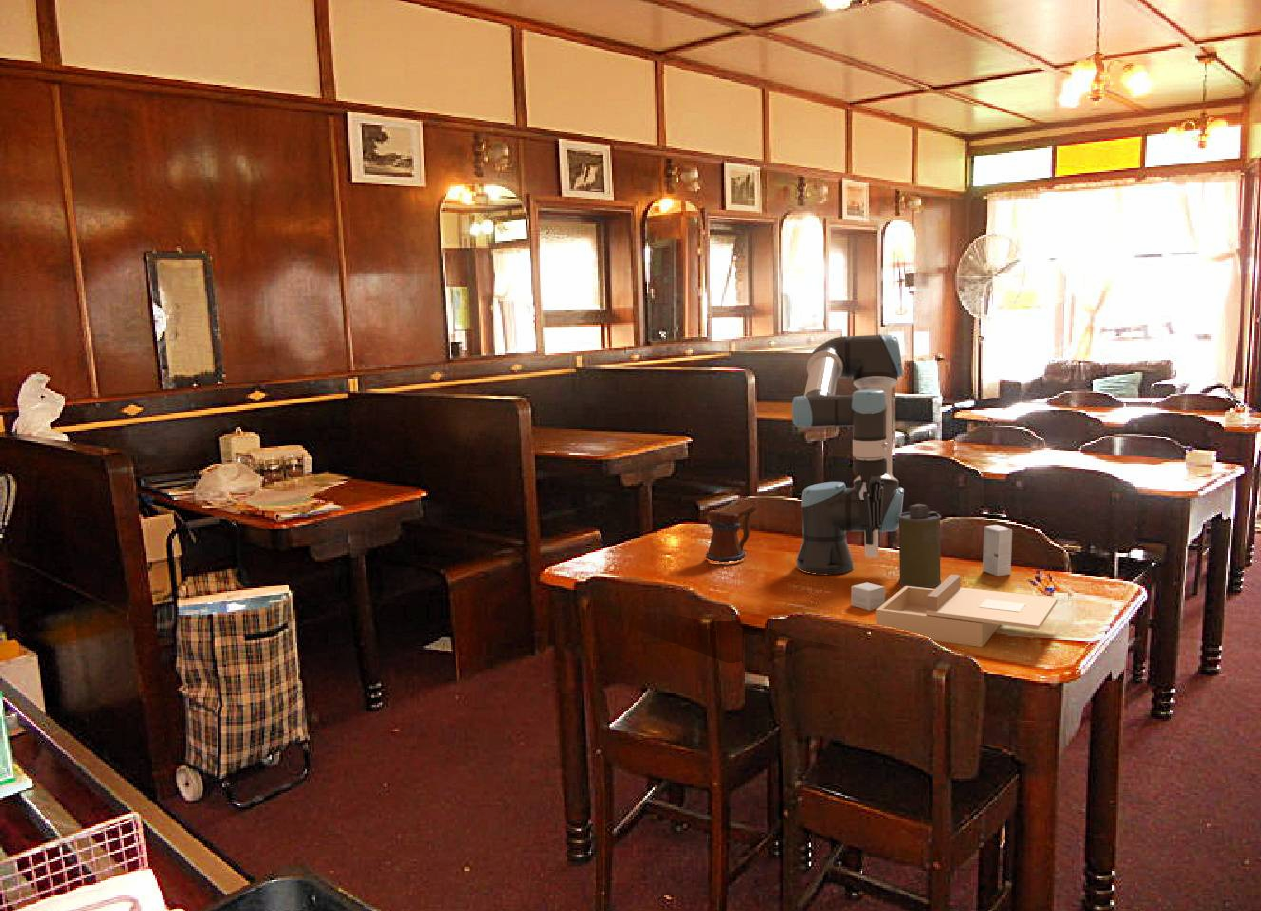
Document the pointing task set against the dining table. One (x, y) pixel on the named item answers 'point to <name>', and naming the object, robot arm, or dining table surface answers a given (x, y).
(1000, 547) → the skincare box
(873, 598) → the small box
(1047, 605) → the lid
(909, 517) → the canister
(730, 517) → the mug
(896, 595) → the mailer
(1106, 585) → the dining table surface
